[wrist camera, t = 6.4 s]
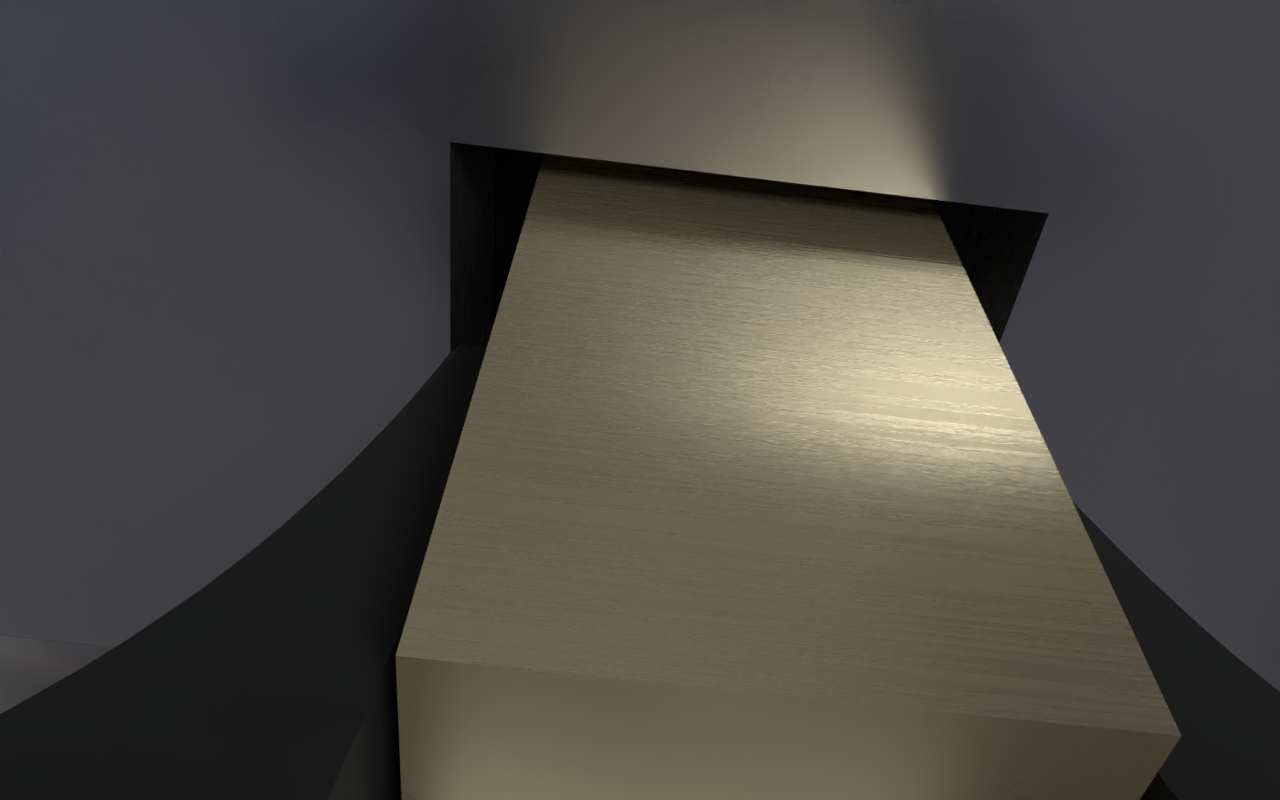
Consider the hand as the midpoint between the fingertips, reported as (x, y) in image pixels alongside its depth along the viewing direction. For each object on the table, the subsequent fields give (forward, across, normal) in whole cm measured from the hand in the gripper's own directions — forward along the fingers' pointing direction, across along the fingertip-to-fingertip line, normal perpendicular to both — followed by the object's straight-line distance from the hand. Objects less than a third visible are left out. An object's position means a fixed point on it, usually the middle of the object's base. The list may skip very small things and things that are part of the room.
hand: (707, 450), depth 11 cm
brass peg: (+2, 0, 0) cm, 2 cm away
